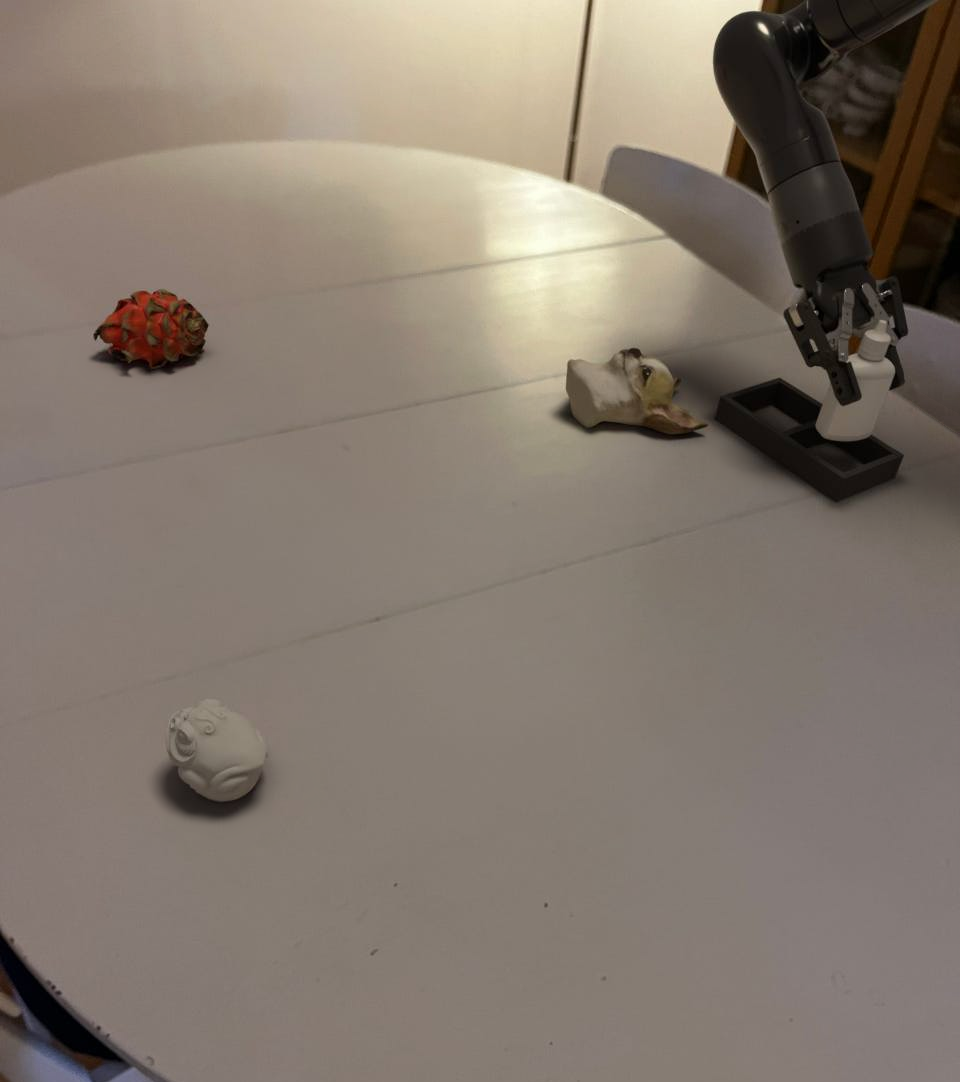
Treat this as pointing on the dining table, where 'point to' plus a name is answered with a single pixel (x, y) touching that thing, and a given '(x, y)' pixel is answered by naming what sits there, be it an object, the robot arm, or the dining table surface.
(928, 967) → the dining table surface
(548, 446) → the dining table surface
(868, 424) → the eye dropper bottle
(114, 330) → the dragon fruit
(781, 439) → the dark grey divided tray
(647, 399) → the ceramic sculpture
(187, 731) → the frog figurine
